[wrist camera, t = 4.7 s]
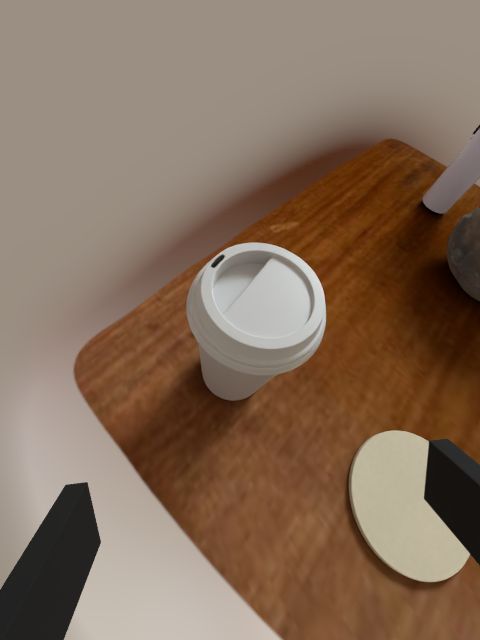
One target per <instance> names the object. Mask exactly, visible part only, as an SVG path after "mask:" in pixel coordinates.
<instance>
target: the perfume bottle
mask: <svg viewBox="0 0 480 640" xmlns="http://www.w3.org/2000/svg"><path fill="white" fill-rule="evenodd" d="M473 134H475V135H474V136H473V137H472V138H471V139H470V141H469V142H468V143H467V144H466V146H465V147H464V148H463V149H462V151H461V152H460V153H459V154H458V155H457V156H456V158H455V159H454V160H453V161H452V163H451V164H450V165H449V166H448V167H447V169H446V170H445V171H444V172H443V173H442V175H441V176H440V177H439V178H438V180H437V181H436V182H435V183H434V184H433V186H432V187H431V188H430V189H429V190H428V192H427V193H426V194H425V195H424V197H423V203H424V204H425V206H426V207H427V208H429V209H430V210H432V211H434V212H436V213H441V214H442V213H446V212H447V211H448V210H449V209H450V208H451V207H452V206H453V205H454V204H455V203H456V202H457V201H458V200H459V199H460V198H461V197H462V196H463V195H464V194H465V193H466V192H467V190H468V189H469V188H470V187H471V186H472V185H473V184H474V183H475V182H476V181H477V180H478V179H479V178H480V125H479V126H478V128H477V129H476V130H475V131H474V133H473Z"/></svg>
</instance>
